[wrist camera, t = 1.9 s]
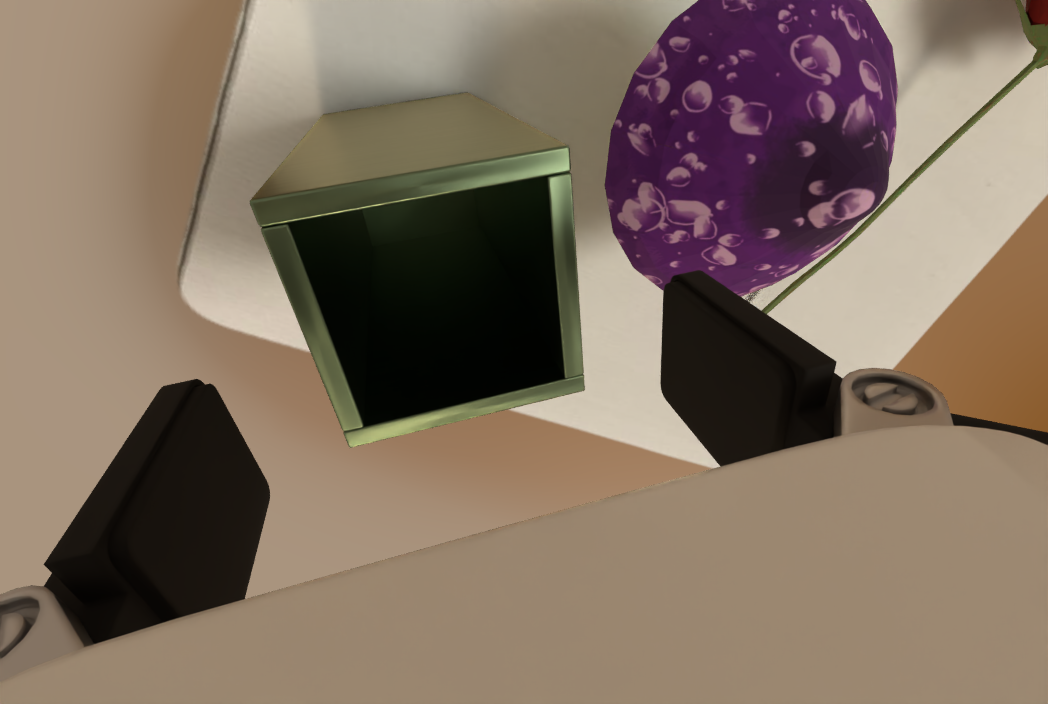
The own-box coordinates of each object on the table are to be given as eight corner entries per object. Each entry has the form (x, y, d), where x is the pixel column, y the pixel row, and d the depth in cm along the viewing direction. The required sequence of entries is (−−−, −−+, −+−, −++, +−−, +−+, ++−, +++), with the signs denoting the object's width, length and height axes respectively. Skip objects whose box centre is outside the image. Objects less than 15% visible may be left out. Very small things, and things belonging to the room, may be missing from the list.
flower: (686, 394, 31) (1324, -191, 17) (633, 298, 39) (1035, -158, 24) (789, 440, 36) (1349, 20, 22) (724, 346, 44) (1103, -8, 30)
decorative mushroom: (627, -73, 23) (922, -216, 10) (798, 77, 28) (1128, 102, 16) (501, 182, 27) (602, 296, 15) (669, 270, 33) (847, 408, 20)
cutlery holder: (322, 114, 24) (247, 200, 10) (468, 92, 25) (570, 145, 11) (364, 254, 28) (349, 448, 14) (489, 229, 28) (585, 391, 15)
